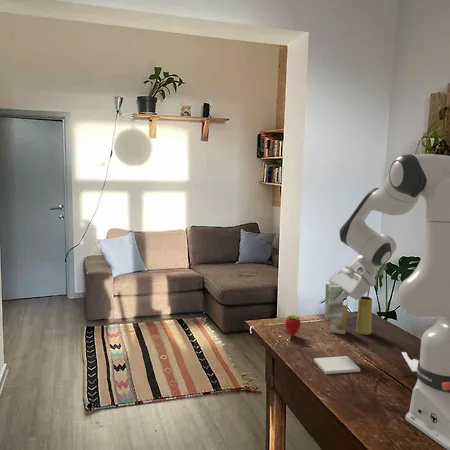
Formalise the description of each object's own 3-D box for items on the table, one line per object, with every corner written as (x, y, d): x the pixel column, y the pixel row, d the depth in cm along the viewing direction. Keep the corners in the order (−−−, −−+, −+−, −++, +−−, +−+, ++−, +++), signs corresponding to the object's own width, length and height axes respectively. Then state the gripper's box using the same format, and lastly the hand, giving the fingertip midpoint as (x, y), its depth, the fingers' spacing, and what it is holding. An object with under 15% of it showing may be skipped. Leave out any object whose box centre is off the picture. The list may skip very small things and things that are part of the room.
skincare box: (329, 332, 183) (330, 303, 182) (330, 329, 187) (331, 300, 186) (346, 334, 181) (347, 304, 180) (346, 330, 185) (348, 301, 184)
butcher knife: (416, 355, 163) (416, 352, 163) (428, 374, 148) (428, 371, 148) (401, 354, 164) (401, 351, 163) (411, 373, 149) (412, 369, 149)
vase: (372, 335, 180) (374, 300, 179) (356, 334, 182) (357, 299, 180) (370, 330, 186) (372, 296, 184) (355, 328, 188) (356, 295, 186)
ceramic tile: (360, 371, 149) (360, 368, 148) (325, 374, 146) (325, 371, 146) (346, 358, 158) (346, 356, 158) (314, 361, 156) (314, 358, 156)
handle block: (342, 319, 163) (343, 286, 161) (329, 319, 162) (330, 286, 160) (337, 315, 167) (338, 283, 165) (324, 316, 166) (325, 284, 164)
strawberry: (299, 333, 182) (300, 309, 181) (300, 340, 175) (301, 315, 173) (284, 332, 183) (285, 308, 181) (285, 339, 175) (285, 314, 174)
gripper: (341, 259, 173) (316, 285, 173) (367, 272, 153) (338, 301, 153) (351, 270, 174) (326, 296, 174) (378, 284, 155) (350, 313, 154)
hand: (332, 299), depth 163 cm, fingers closed on handle block, 4 cm apart
